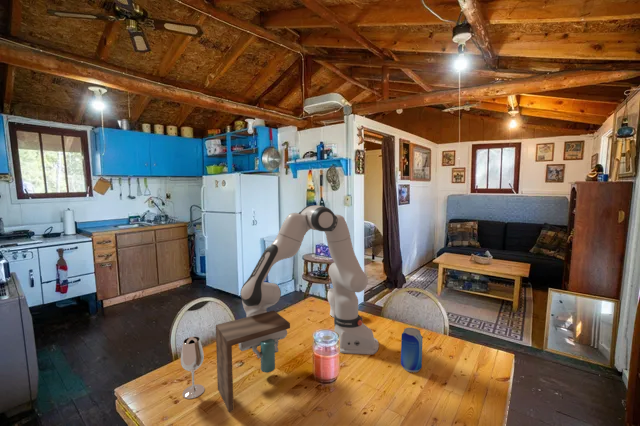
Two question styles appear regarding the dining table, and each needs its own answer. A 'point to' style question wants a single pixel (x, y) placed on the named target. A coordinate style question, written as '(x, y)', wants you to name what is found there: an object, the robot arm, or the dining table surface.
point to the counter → (237, 334)
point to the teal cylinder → (268, 355)
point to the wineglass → (192, 364)
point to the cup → (331, 301)
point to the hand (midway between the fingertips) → (268, 354)
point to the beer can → (411, 350)
